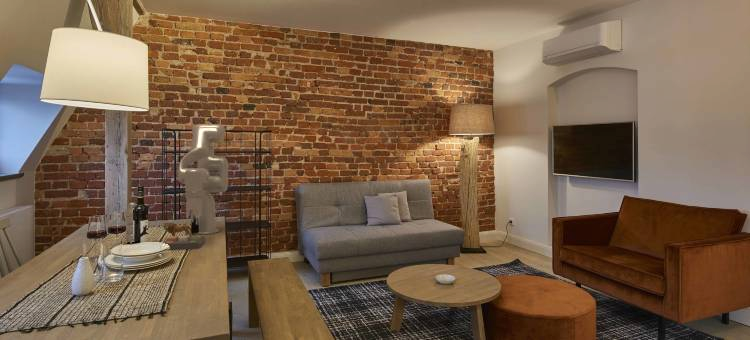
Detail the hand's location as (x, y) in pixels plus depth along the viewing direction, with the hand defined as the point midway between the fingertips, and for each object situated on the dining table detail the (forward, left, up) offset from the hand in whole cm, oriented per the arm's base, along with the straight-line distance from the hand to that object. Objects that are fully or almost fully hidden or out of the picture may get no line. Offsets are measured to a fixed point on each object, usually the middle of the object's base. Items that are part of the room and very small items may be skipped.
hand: (195, 232), depth 203 cm
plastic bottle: (-11, -32, -7) cm, 35 cm away
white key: (-1, -5, -4) cm, 7 cm away
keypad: (0, -5, -6) cm, 8 cm away
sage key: (-1, 0, -4) cm, 4 cm away
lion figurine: (-19, -13, -7) cm, 24 cm away
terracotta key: (-1, -10, -4) cm, 11 cm away
